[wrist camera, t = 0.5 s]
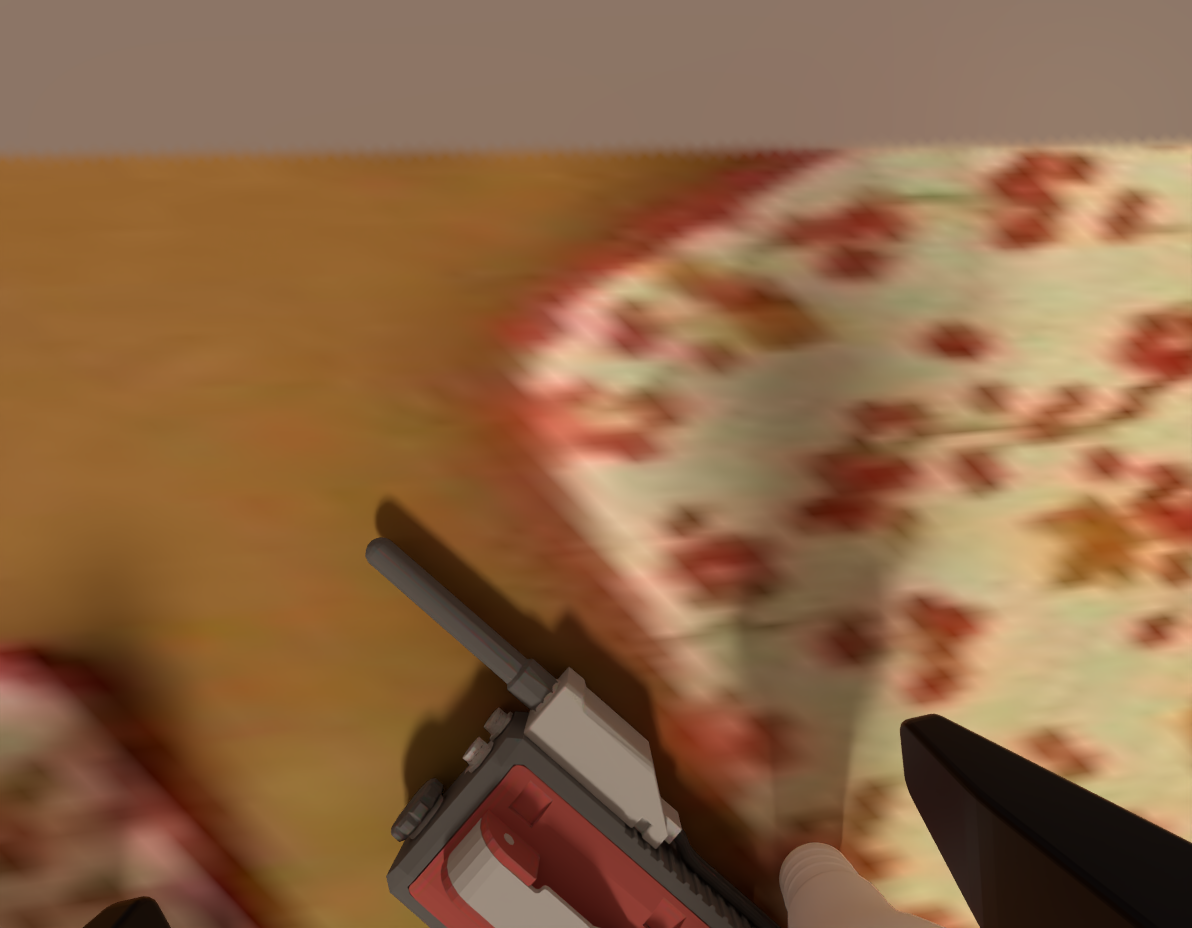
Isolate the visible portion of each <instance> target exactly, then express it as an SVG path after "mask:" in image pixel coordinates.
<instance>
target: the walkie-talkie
mask: <svg viewBox="0 0 1192 928" xmlns="http://www.w3.org/2000/svg"><path fill="white" fill-rule="evenodd" d="M366 558H367V561H368V562H369V563H370V564H371V565H372V566H373V567H374V568H375V569H377V570H378V571H379V572H380V573H381V574H382V575H383V576H385V577H386V578H387V579H388V580H389V581H390V582H391V583H393V584H394V585H395V586H396V587H397V588H398V589H399V590H401V591H402V592H403V593H404V594H405V595H406V596H407V597H409V598H410V599H411V600H412V601H413V602H414V603H415V604H417V605H418V606H419V607H420V608H421V609H422V610H423V611H425V612H426V613H427V614H428V615H429V616H430V617H431V618H433V619H434V620H435V621H436V622H437V623H438V624H439V625H441V626H442V627H443V628H444V629H445V630H446V631H447V632H449V633H450V634H451V635H452V636H453V637H454V638H455V639H457V640H458V641H459V642H460V643H461V644H462V645H463V646H465V647H466V648H467V649H468V650H469V651H470V652H471V653H473V654H474V655H475V656H476V657H477V658H478V659H479V660H481V661H482V662H483V663H484V664H485V665H486V666H487V667H489V668H490V669H491V670H492V671H493V672H494V673H495V674H497V675H498V676H499V677H500V678H501V679H502V680H503V681H505V682H506V683H507V690H508V691H509V692H510V693H512V694H513V695H514V696H515V697H516V698H517V699H519V700H520V701H521V702H522V703H523V704H524V705H525V706H527V707H528V708H529V709H530V712H529V713H528V712H516V711H515V712H514V714H513V713H512V712H511V711H510V712H509V713H508V714H506V713H505V712H504V711H503V710H501V709H500V707H499V708H498V709H496V710H495V711H494V712H493V714H492V715H491V716H490V718H489V719H488V720H487V722H486V723H485V726H484V728H485V729H486V730H487V731H488V732H489V733H490V734H491V736H490V741H489V742H488V744H487V743H486V742H484V740H482V739H481V738H480V737H478V738H477V739H476V740H475V741H474V742H473V743H472V744H471V746H470V747H469V748H468V750H467V751H466V752H465V754H464V756H463V759H464V760H465V761H466V762H467V763H468V764H469V765H468V767H467V768H466V769H465V770H464V771H463V772H462V774H461V775H460V776H459V777H458V778H457V779H456V780H455V782H454V783H453V784H452V785H451V786H450V787H449V788H448V790H447V791H446V792H445V793H444V794H443V795H442V796H441V794H442V791H443V784H442V783H440V782H439V781H438V780H437V779H436V778H433V779H430V780H429V781H427V782H426V783H425V784H424V785H423V786H422V787H421V788H420V789H419V791H418V792H417V793H416V794H415V795H414V797H413V798H412V799H411V801H410V802H409V803H408V804H407V806H406V807H405V808H404V810H403V811H402V812H401V814H400V815H399V816H398V818H397V819H396V821H395V823H394V824H393V826H392V828H391V834H392V836H393V837H394V838H395V839H397V840H398V841H399V842H400V841H403V840H405V841H404V843H403V845H402V847H401V849H400V851H399V853H398V855H397V857H396V859H395V860H394V862H393V864H392V866H391V868H390V870H389V872H388V874H387V876H386V878H387V882H388V886H389V890H390V893H391V894H393V895H394V896H395V897H396V898H397V899H398V900H399V901H400V902H402V903H403V904H404V905H405V906H406V907H407V908H408V909H410V910H411V911H412V912H413V913H414V914H415V915H416V916H418V917H419V918H420V919H421V920H422V921H423V922H424V923H426V924H427V925H428V926H429V927H430V928H757V927H758V928H781V927H780V926H779V925H778V924H776V923H775V922H774V921H773V920H772V919H771V918H770V917H768V916H767V915H766V914H765V913H764V912H763V911H762V910H760V909H759V908H758V907H757V906H756V905H755V904H754V903H752V902H751V901H750V900H749V899H748V898H747V897H746V896H744V895H743V894H742V893H741V892H740V891H739V890H738V889H736V888H735V887H734V886H733V885H732V884H731V883H730V882H728V881H727V880H726V879H725V878H724V877H723V876H722V875H720V874H719V873H718V872H717V871H716V870H715V869H714V868H712V867H711V866H710V865H709V864H708V863H707V862H706V861H705V860H704V859H702V858H701V857H700V856H699V855H698V854H697V853H696V852H695V851H694V849H693V848H692V847H691V845H690V844H689V841H688V838H687V835H686V833H685V831H684V830H683V829H682V827H681V823H680V819H679V815H678V812H677V811H676V810H675V809H674V808H673V807H671V806H670V805H669V804H668V803H667V802H666V801H665V800H663V799H662V798H661V797H660V792H659V788H658V783H657V778H656V774H655V769H654V765H653V760H652V755H651V751H650V746H649V741H647V740H646V739H645V738H644V737H643V736H642V735H641V734H639V733H638V732H637V731H636V730H635V729H634V728H633V727H632V726H630V725H629V724H628V723H627V722H626V721H625V720H624V719H622V718H621V717H620V716H619V715H618V714H617V713H616V712H614V711H613V710H612V709H611V708H610V707H609V706H608V705H606V704H605V703H604V702H603V701H602V700H601V699H600V698H599V697H597V696H596V695H595V694H594V693H593V692H592V691H591V690H589V689H588V688H587V687H586V684H585V680H584V679H583V678H582V677H581V676H580V675H578V674H577V673H576V672H575V671H574V670H573V669H571V668H570V667H568V668H567V669H566V670H565V671H564V673H563V674H562V675H561V676H560V677H559V678H558V679H555V678H554V677H553V676H552V675H551V674H550V673H549V672H548V671H546V670H545V669H544V668H543V667H542V666H541V665H540V664H538V663H537V662H536V661H535V660H534V659H527V658H525V657H524V656H523V655H522V654H521V653H520V652H519V651H517V650H516V649H515V648H514V647H513V646H512V645H510V644H509V643H508V642H507V641H506V640H505V639H504V638H502V637H501V636H500V635H499V634H498V633H497V632H495V631H494V630H493V629H492V628H491V627H490V626H489V625H487V624H486V623H485V622H484V621H483V620H482V619H480V618H479V617H478V616H477V615H476V614H475V613H474V612H472V611H471V610H470V609H469V608H468V607H467V606H466V605H464V604H463V603H462V602H461V601H460V600H459V599H457V598H456V597H455V596H454V595H453V594H452V593H451V592H449V591H448V590H447V589H446V588H445V587H444V586H442V585H441V584H440V583H439V582H438V581H437V580H436V579H434V578H433V577H432V576H431V575H430V574H429V573H427V572H426V571H425V570H424V569H423V568H422V567H421V566H419V565H418V564H417V563H416V562H415V561H414V560H413V559H411V558H410V557H409V556H408V555H407V554H406V553H404V552H403V551H402V550H401V549H400V548H399V547H398V546H396V545H395V544H394V543H393V542H392V541H391V540H389V539H387V538H376V539H374V540H372V541H371V542H370V543H369V544H368V546H367V549H366ZM673 840H674V841H675V842H674V841H673Z"/></svg>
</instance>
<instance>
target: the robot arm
mask: <svg viewBox="0 0 1192 928" xmlns="http://www.w3.org/2000/svg"><path fill="white" fill-rule="evenodd" d="M900 737H901V747H902V757H903V767H904V776H905V781H906V784H907V787H908V790H909V793H910V795H911V797H912V799H913V801H914V803H915V805H916V807H917V809H918V811H919V813H920V815H921V817H922V819H923V820H924V822H925V824H926V826H927V828H928V830H929V832H930V834H931V836H932V838H933V839H934V841H935V843H936V845H937V847H938V849H939V851H940V853H941V855H942V857H943V858H944V860H945V862H946V864H947V866H948V868H949V870H950V872H951V874H952V876H953V877H954V879H955V881H956V883H957V885H958V887H959V889H960V891H961V893H962V895H963V896H964V898H965V900H966V902H967V904H968V906H969V908H970V910H971V912H972V913H973V915H974V917H975V919H976V921H977V923H978V924H979V926H980V928H1192V843H1191V842H1189V841H1187V840H1185V839H1183V838H1181V837H1179V836H1177V835H1175V834H1173V833H1171V832H1169V831H1167V830H1165V829H1163V828H1161V827H1159V826H1157V825H1155V824H1153V823H1152V822H1150V821H1148V820H1146V819H1144V818H1142V817H1140V816H1138V815H1136V814H1134V813H1132V812H1130V811H1128V810H1126V809H1124V808H1122V807H1120V806H1118V805H1116V804H1114V803H1112V802H1110V801H1108V800H1106V799H1104V798H1102V797H1100V796H1098V795H1096V794H1094V793H1092V792H1090V791H1088V790H1087V789H1085V788H1083V787H1081V786H1079V785H1077V784H1075V783H1073V782H1071V781H1069V780H1067V779H1065V778H1063V777H1061V776H1059V775H1057V774H1055V773H1053V772H1051V771H1049V770H1047V769H1045V768H1043V767H1041V766H1039V765H1037V764H1035V763H1033V762H1031V761H1029V760H1027V759H1025V758H1023V757H1022V756H1020V755H1018V754H1016V753H1014V752H1012V751H1010V750H1008V749H1006V748H1004V747H1002V746H1000V745H998V744H996V743H994V742H992V741H990V740H988V739H986V738H984V737H982V736H980V735H978V734H976V733H974V732H972V731H970V730H968V729H966V728H964V727H962V726H960V725H958V724H957V723H955V722H953V721H951V720H949V719H947V718H945V717H943V716H940V715H937V714H928V715H924V716H919V717H915V718H911V719H907V720H905V721H903V722H902V724H901V727H900ZM83 928H171V927H170V925H169V923H168V922H167V920H166V918H165V916H164V914H163V913H162V911H161V909H160V907H159V905H158V904H157V902H156V901H155V900H154V899H152V898H150V897H145V896H143V897H138V898H134V899H130V900H125V901H121V902H117V903H115V904H112V905H110V906H108V907H107V908H106V909H104V910H103V911H102V912H101V913H99V914H98V915H97V916H96V917H95V918H93V919H92V920H91V921H90V922H89V923H88V924H86V925H85V926H84V927H83Z"/></svg>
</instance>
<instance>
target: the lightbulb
mask: <svg viewBox="0 0 1192 928" xmlns="http://www.w3.org/2000/svg"><path fill="white" fill-rule="evenodd" d="M779 885H780V890H781V893H782V896H783V899H784V903H785V907H786V909H787V912H788V928H945V927H943V926H940V925H938V924H935V923H933V922H930V921H928V920H925V919H923V918H920V917H918V916H915V915H912V914H910V913H905V912H901V911H898V910H896V909H895V908H894V907H892V906H891V905H890V904H889V903H888V902H887V901H886V899H885V898H884V897H883V895H882V894H881V893H880V892H879V890H878V889H877V888H876V887H875V886H874V885H873V884H872V883H870V882H869V881H867V880H866V879H864V878H863V877H861V876H860V875H859V874H858V873H857V871H856V870H855V869H854V868H853V866H852V865H851V863H850V862H849V861H848V860H847V859H846V858H845V856H844V855H843V854H842V853H841V852H840V851H839V850H837V849H836V848H834V847H833V846H830V845H828V844H824V843H819V842H813V843H807V844H803V845H801V846H799V847H797V848H796V849H794V850H793V851H791V852H790V853H789V855H788V856H787V857H786V858H785V860H784V861H783V863H782V866H781V869H780V874H779Z"/></svg>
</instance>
